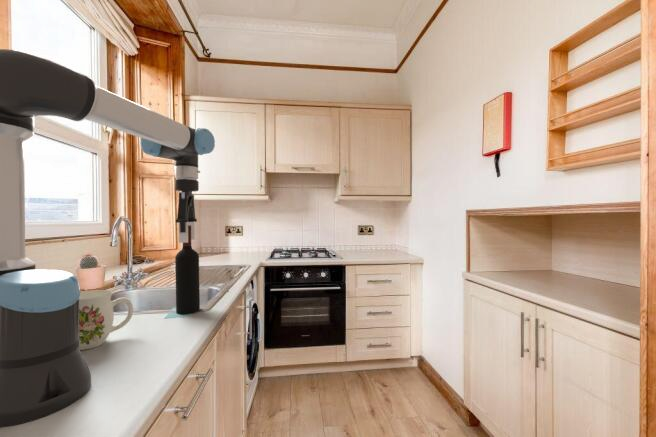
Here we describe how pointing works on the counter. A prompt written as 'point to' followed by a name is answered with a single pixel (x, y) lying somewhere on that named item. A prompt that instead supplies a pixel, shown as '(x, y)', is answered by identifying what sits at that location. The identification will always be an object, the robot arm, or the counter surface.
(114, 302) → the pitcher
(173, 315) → the mat
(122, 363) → the counter surface
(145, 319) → the counter surface
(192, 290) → the wine bottle
